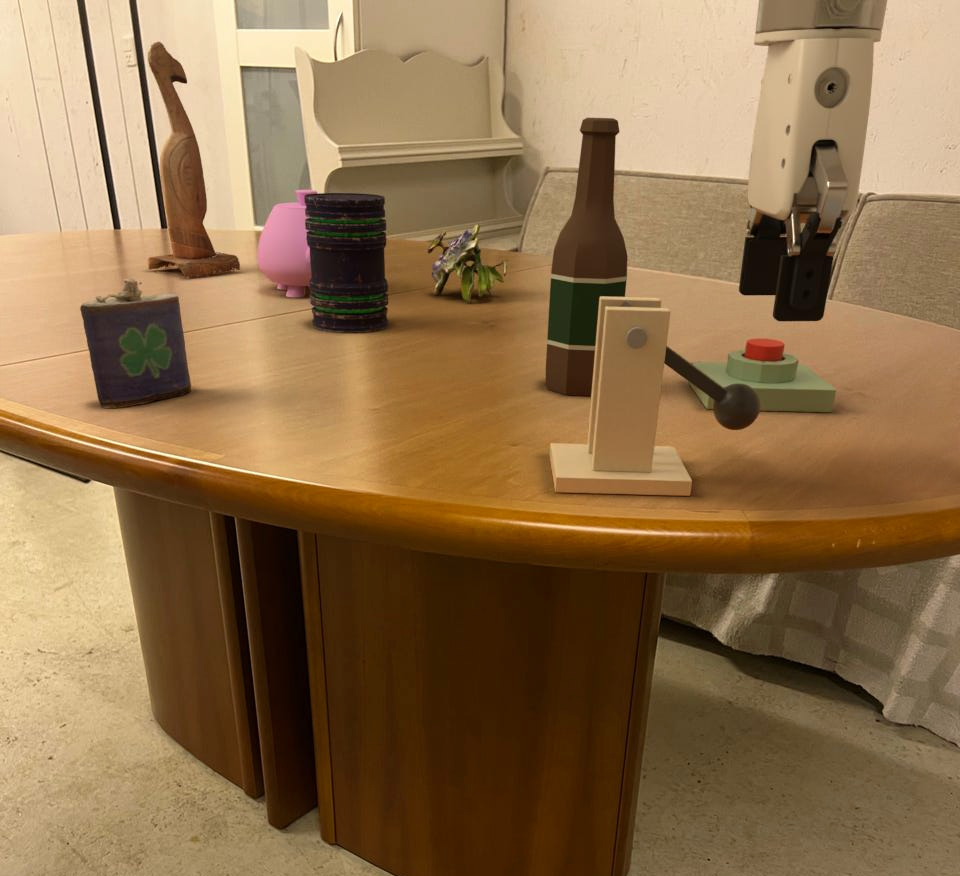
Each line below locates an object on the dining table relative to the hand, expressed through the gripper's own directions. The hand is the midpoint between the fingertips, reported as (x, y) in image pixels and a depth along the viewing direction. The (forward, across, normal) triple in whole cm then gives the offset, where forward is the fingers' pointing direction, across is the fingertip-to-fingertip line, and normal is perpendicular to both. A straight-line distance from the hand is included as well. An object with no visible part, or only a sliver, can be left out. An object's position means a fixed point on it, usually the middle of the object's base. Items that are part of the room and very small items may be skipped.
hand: (777, 306), depth 65 cm
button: (+9, +24, -6) cm, 27 cm away
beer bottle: (+13, +26, +11) cm, 31 cm away
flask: (+11, +18, +53) cm, 57 cm away
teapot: (+12, +78, +47) cm, 91 cm away
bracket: (+12, 0, +11) cm, 16 cm away
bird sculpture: (+11, +94, +70) cm, 117 cm away
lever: (+6, 0, +7) cm, 9 cm away
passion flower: (+12, +78, +24) cm, 82 cm away
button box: (+13, +24, -6) cm, 28 cm away
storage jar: (+12, +54, +39) cm, 68 cm away
